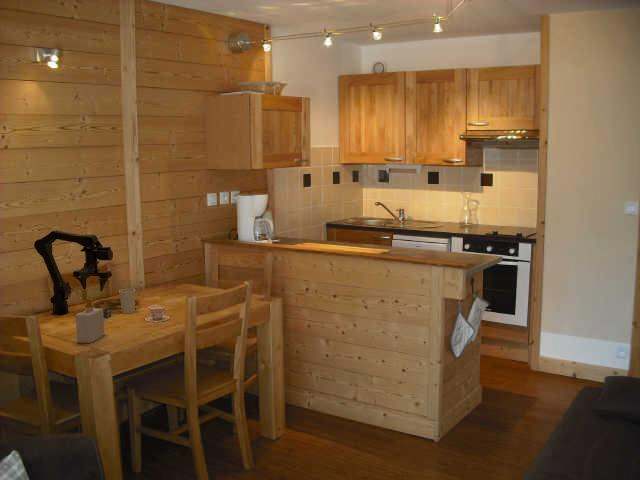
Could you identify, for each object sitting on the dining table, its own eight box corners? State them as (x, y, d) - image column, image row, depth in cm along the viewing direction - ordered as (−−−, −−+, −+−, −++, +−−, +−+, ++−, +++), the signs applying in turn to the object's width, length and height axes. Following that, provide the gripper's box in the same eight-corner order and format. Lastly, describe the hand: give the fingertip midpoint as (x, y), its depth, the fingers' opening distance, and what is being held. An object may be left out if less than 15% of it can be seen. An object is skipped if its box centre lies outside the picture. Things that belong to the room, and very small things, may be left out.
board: (75, 325, 331) (75, 323, 331) (95, 315, 349) (95, 313, 349) (98, 326, 329) (97, 324, 328) (117, 316, 346) (117, 314, 346)
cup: (132, 315, 348) (130, 292, 346) (117, 315, 349) (116, 291, 347) (139, 311, 355) (138, 288, 353) (124, 311, 357) (123, 288, 355)
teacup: (139, 321, 338) (139, 308, 337) (154, 315, 349) (153, 303, 348) (160, 323, 334) (160, 311, 333) (174, 317, 345) (174, 305, 344)
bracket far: (91, 317, 341) (90, 311, 341) (95, 315, 345) (95, 309, 345) (107, 318, 339) (106, 312, 339) (111, 316, 343) (111, 310, 343)
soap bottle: (90, 343, 302) (87, 290, 298) (76, 342, 303) (73, 290, 300) (105, 335, 314) (102, 284, 310) (91, 335, 315) (88, 284, 312)
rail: (84, 321, 332) (84, 314, 331) (101, 313, 346) (101, 306, 345) (91, 322, 331) (91, 314, 330) (108, 314, 345) (107, 307, 345)
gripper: (65, 262, 341) (67, 293, 344) (99, 263, 337) (101, 295, 339) (78, 258, 352) (80, 288, 354) (111, 259, 348) (113, 290, 350)
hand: (93, 291), depth 349 cm, fingers open, 9 cm apart
